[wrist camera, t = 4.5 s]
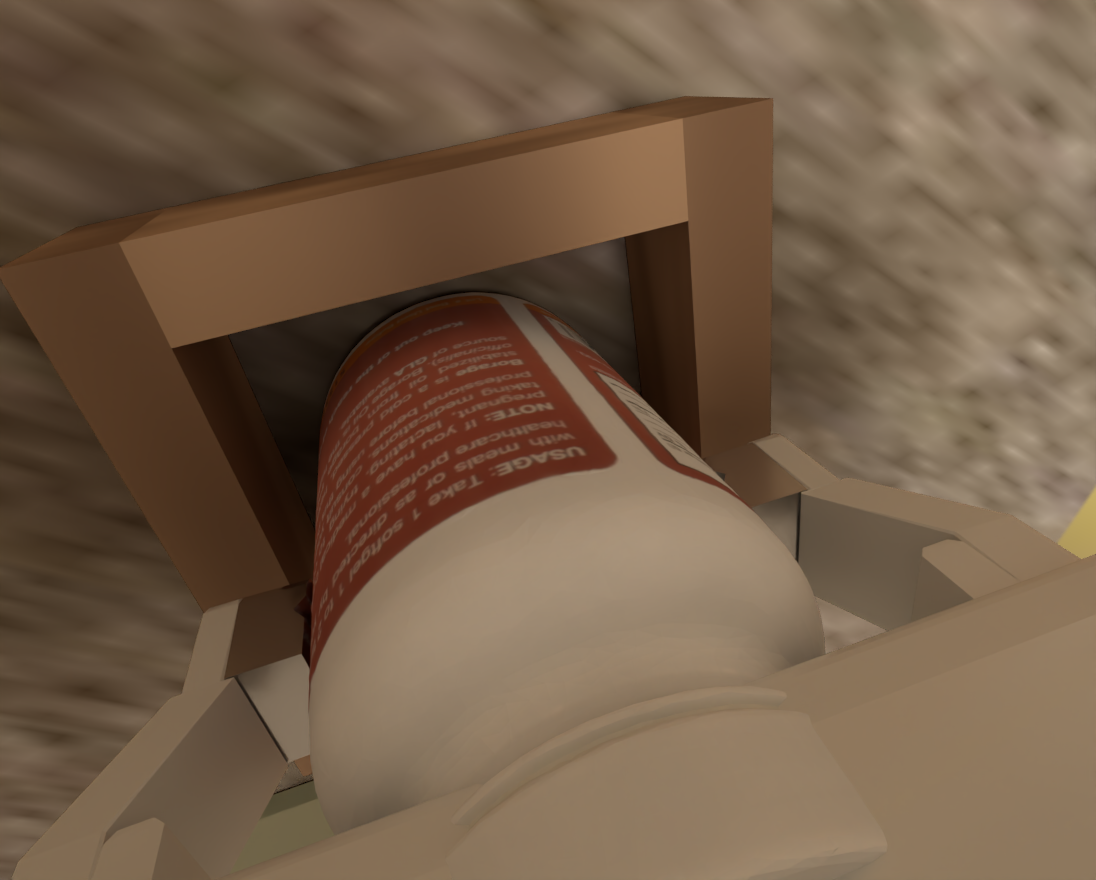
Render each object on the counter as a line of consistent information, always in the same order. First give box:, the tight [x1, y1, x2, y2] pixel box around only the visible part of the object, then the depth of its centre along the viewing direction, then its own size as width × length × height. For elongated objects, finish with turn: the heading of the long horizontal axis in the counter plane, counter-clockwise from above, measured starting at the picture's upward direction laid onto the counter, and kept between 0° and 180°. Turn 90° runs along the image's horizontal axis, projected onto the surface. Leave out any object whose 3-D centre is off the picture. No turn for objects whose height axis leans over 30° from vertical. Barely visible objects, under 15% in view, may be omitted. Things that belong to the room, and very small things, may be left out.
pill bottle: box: [308, 292, 888, 880], centre depth 10 cm, size 6×6×11 cm
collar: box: [0, 96, 773, 777], centre depth 13 cm, size 11×11×3 cm
